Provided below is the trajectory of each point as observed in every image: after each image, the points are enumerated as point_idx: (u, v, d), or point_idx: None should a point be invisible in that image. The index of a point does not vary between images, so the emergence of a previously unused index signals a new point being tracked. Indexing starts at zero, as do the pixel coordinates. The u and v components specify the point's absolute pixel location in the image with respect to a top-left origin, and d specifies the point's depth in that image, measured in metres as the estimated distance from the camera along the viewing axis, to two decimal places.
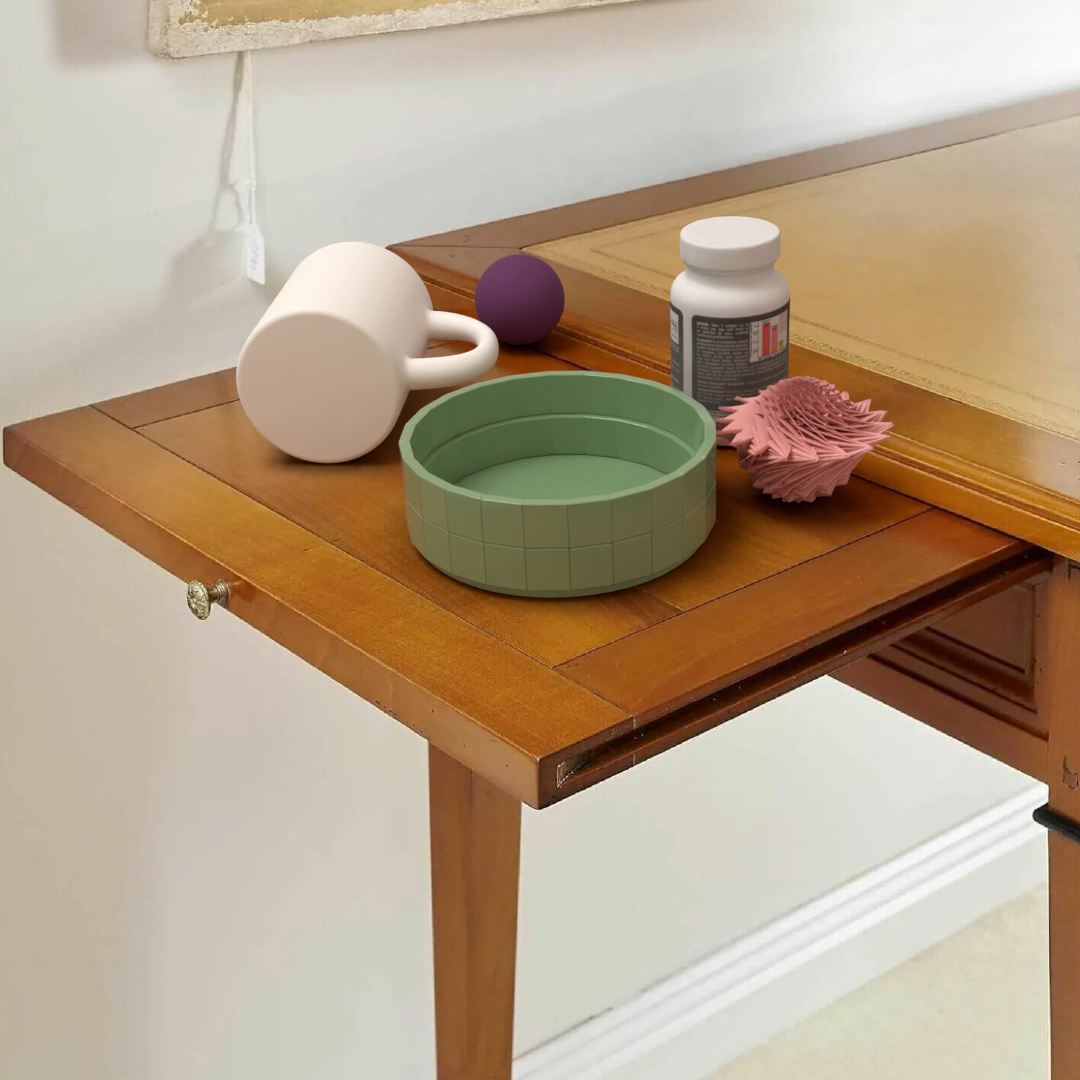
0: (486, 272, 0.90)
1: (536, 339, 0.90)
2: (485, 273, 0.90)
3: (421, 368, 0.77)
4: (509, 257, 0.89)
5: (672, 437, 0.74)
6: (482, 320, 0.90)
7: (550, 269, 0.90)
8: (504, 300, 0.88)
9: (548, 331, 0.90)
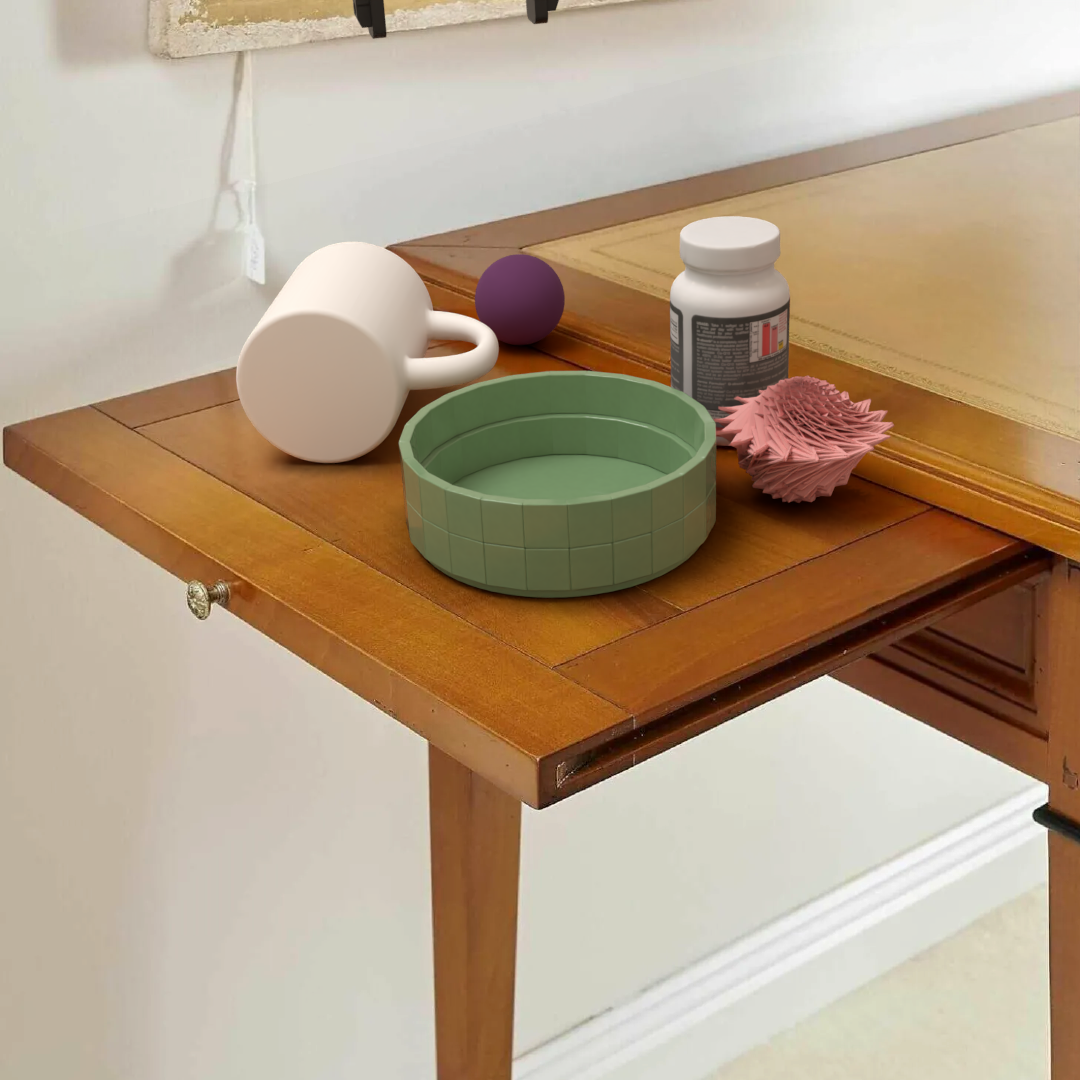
0: (486, 272, 0.90)
1: (536, 339, 0.90)
2: (485, 273, 0.90)
3: (421, 368, 0.77)
4: (509, 257, 0.89)
5: (672, 437, 0.74)
6: (482, 320, 0.90)
7: (550, 269, 0.90)
8: (504, 300, 0.88)
9: (548, 331, 0.90)
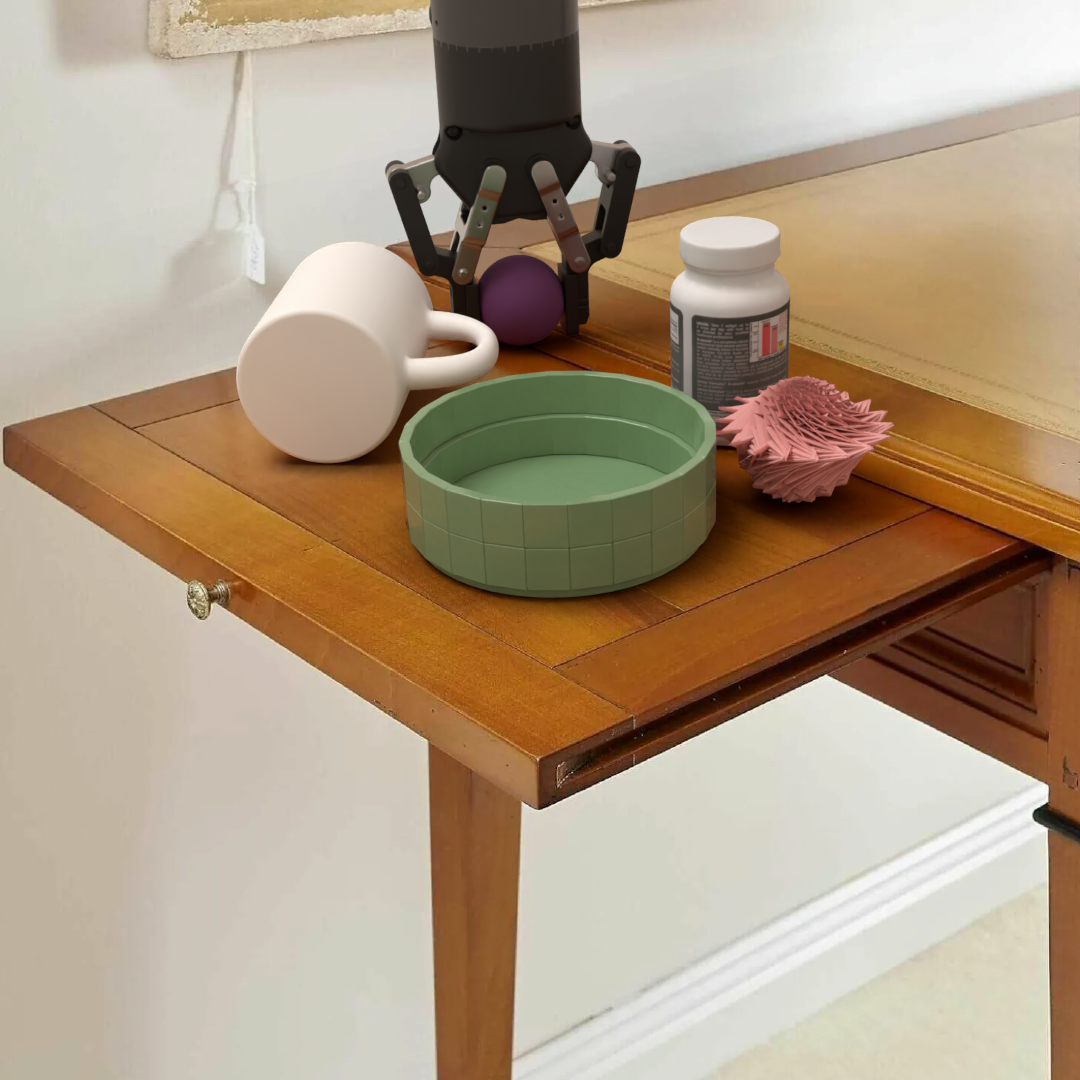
0: (486, 272, 0.90)
1: (536, 339, 0.90)
2: (485, 273, 0.90)
3: (421, 368, 0.77)
4: (509, 257, 0.90)
5: (672, 437, 0.74)
6: (482, 320, 0.90)
7: (550, 269, 0.90)
8: (504, 301, 0.88)
9: (548, 331, 0.90)
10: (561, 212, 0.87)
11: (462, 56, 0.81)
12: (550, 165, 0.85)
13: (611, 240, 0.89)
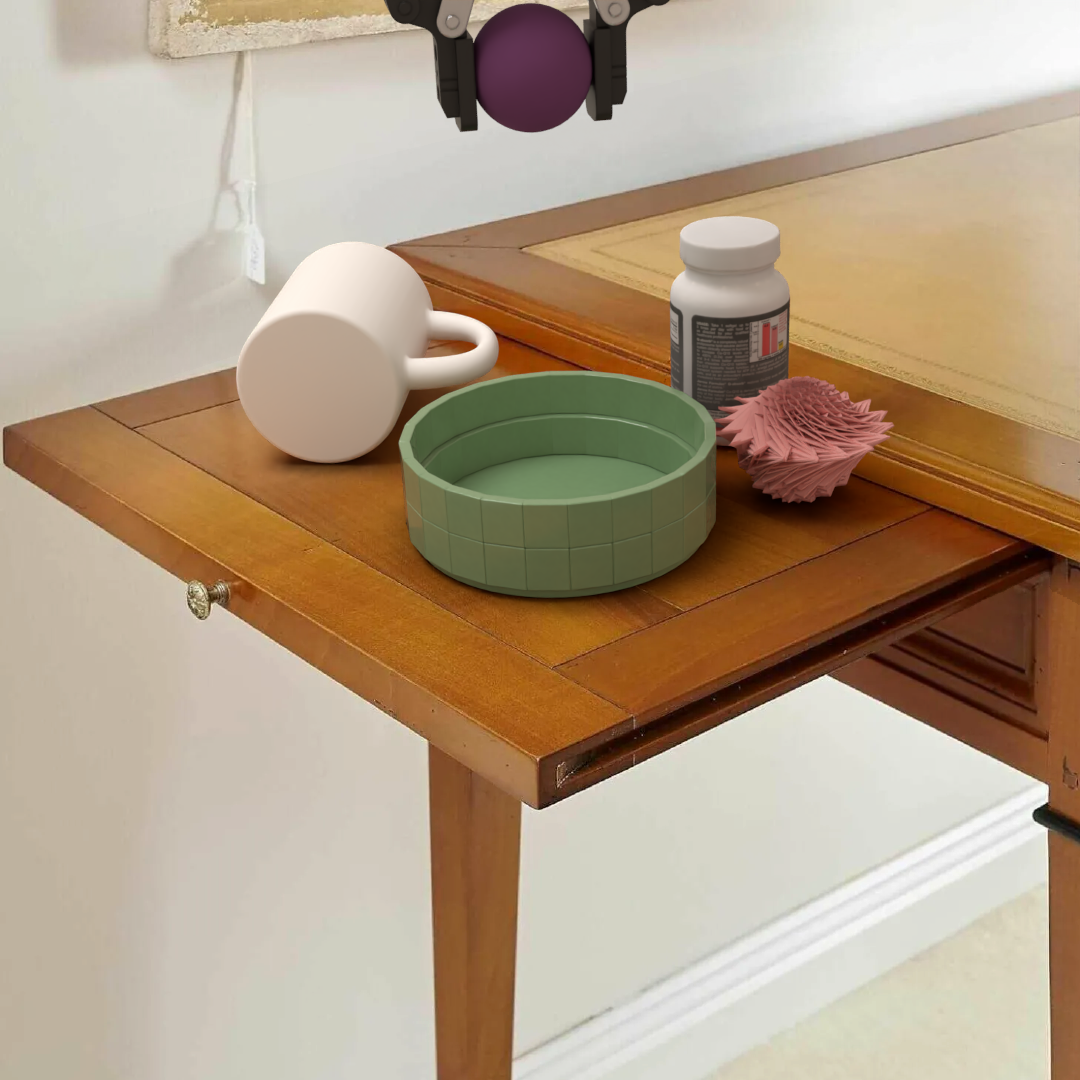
0: (484, 26, 0.65)
1: (553, 121, 0.65)
2: (483, 28, 0.65)
3: (421, 368, 0.77)
4: (516, 5, 0.64)
5: (672, 437, 0.74)
6: (478, 94, 0.65)
7: (573, 22, 0.65)
8: (509, 60, 0.63)
9: (570, 109, 0.65)
10: None
11: None
12: None
13: None
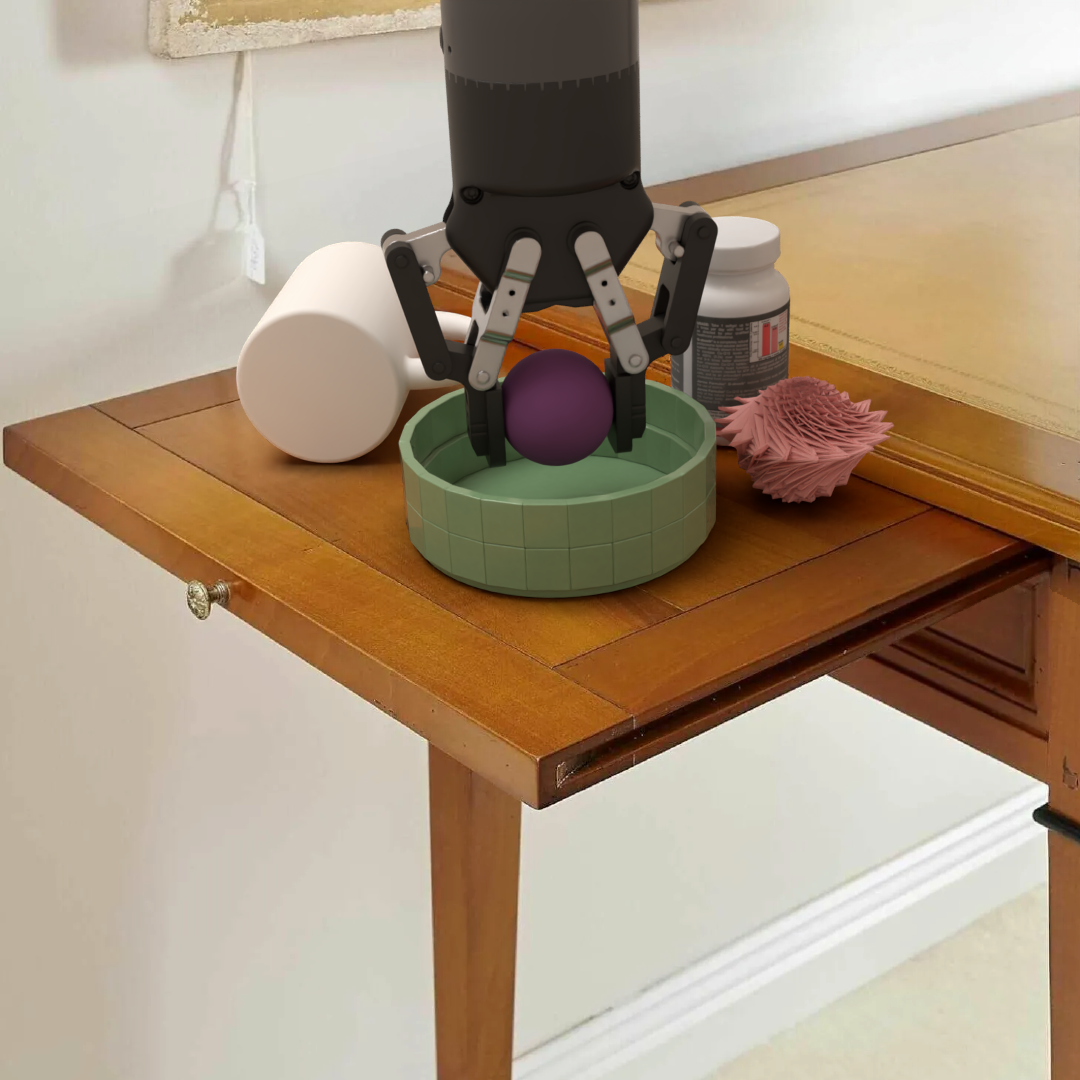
0: (512, 373, 0.69)
1: (577, 459, 0.69)
2: (511, 374, 0.69)
3: (421, 368, 0.77)
4: (542, 354, 0.69)
5: (672, 437, 0.74)
6: (507, 435, 0.69)
7: (596, 369, 0.69)
8: (537, 412, 0.67)
9: (593, 449, 0.69)
10: (612, 297, 0.66)
11: (484, 95, 0.60)
12: (599, 237, 0.64)
13: (677, 332, 0.68)
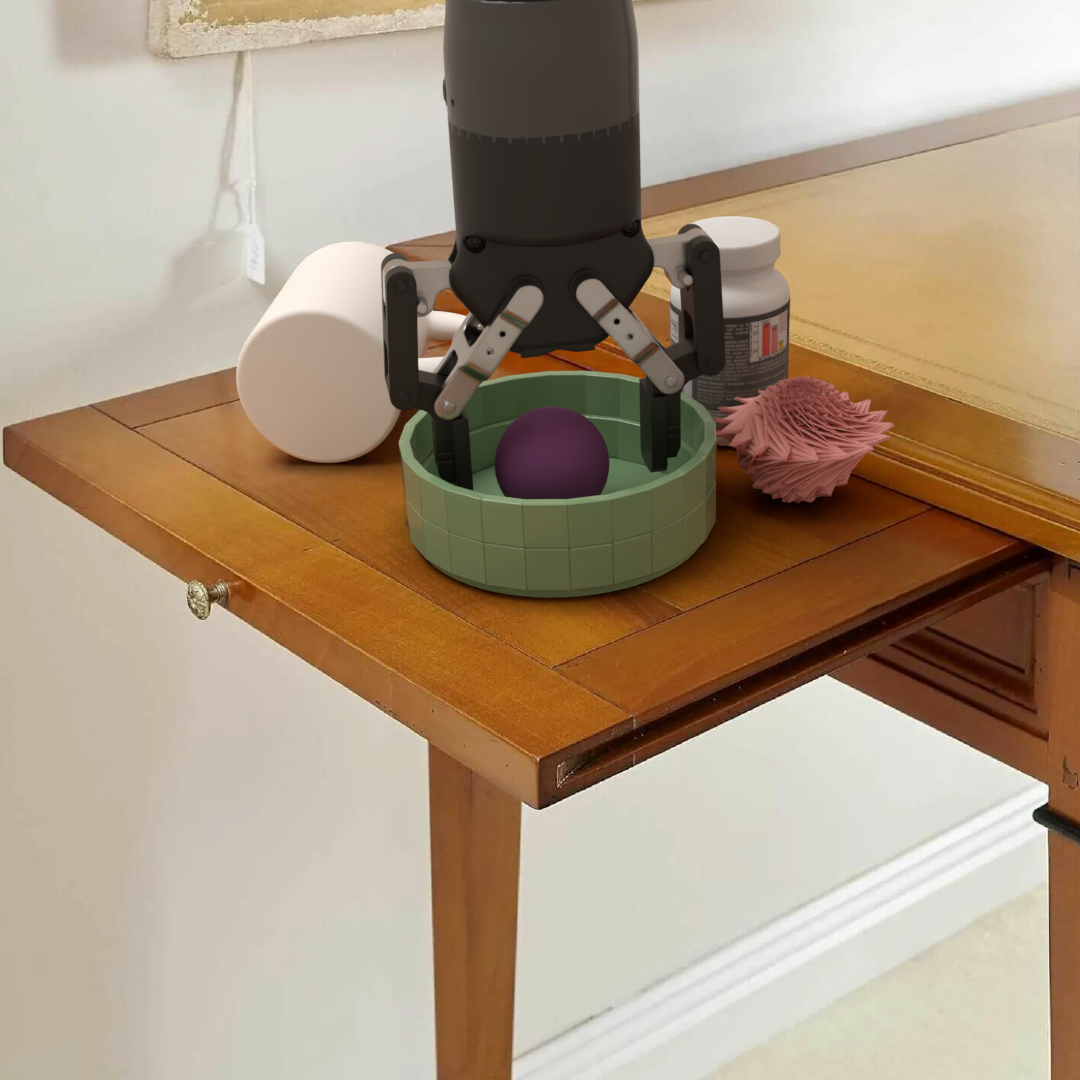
0: (505, 435, 0.70)
1: None
2: (504, 436, 0.70)
3: (421, 368, 0.77)
4: (533, 413, 0.70)
5: None
6: (506, 496, 0.70)
7: (587, 423, 0.70)
8: (531, 472, 0.69)
9: None
10: (629, 332, 0.67)
11: (487, 148, 0.61)
12: (598, 282, 0.65)
13: (710, 353, 0.69)
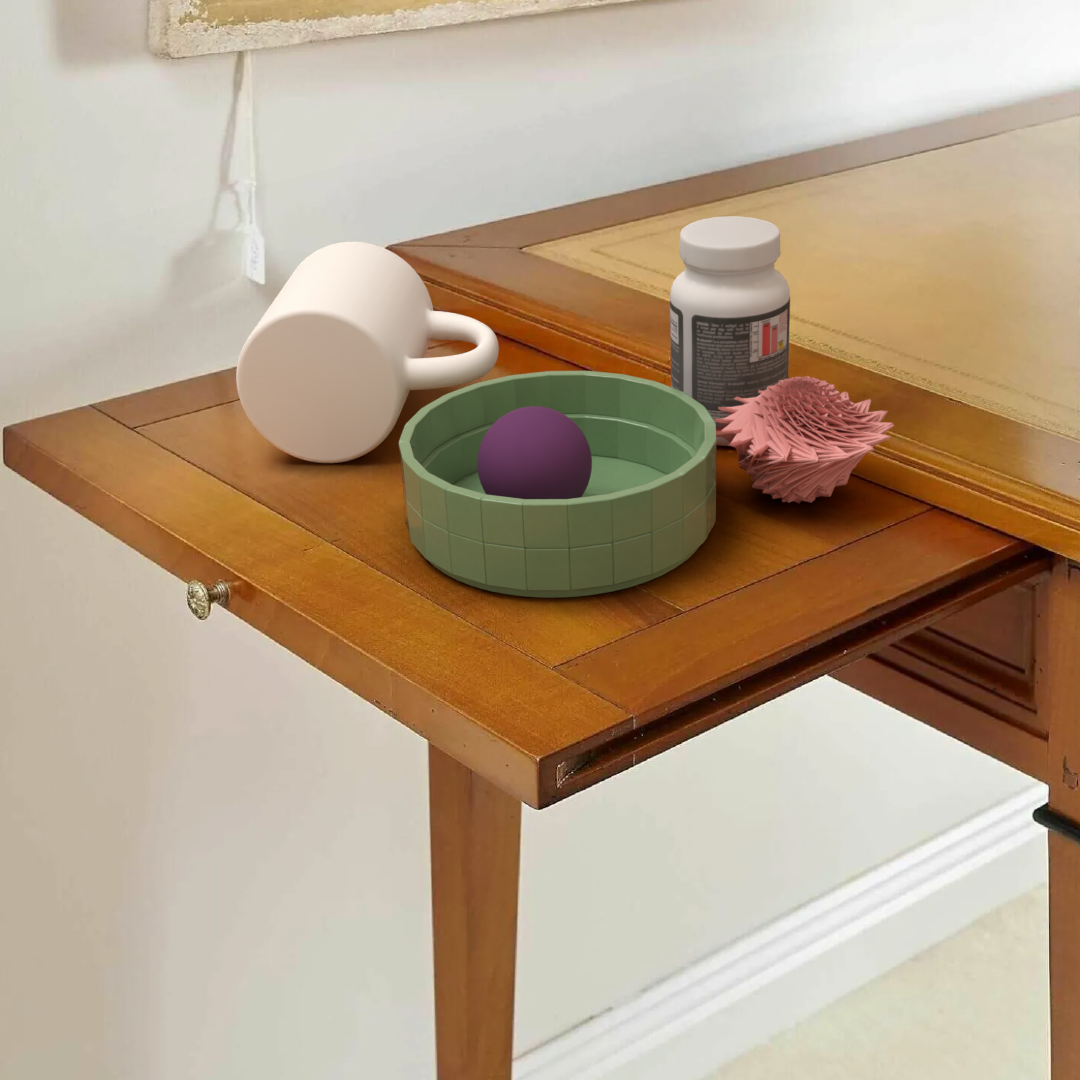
0: (480, 448, 0.70)
1: None
2: (479, 450, 0.71)
3: (421, 368, 0.77)
4: (500, 420, 0.70)
5: (672, 437, 0.74)
6: None
7: (554, 415, 0.70)
8: (509, 476, 0.69)
9: (580, 489, 0.70)
10: None
11: None
12: None
13: None
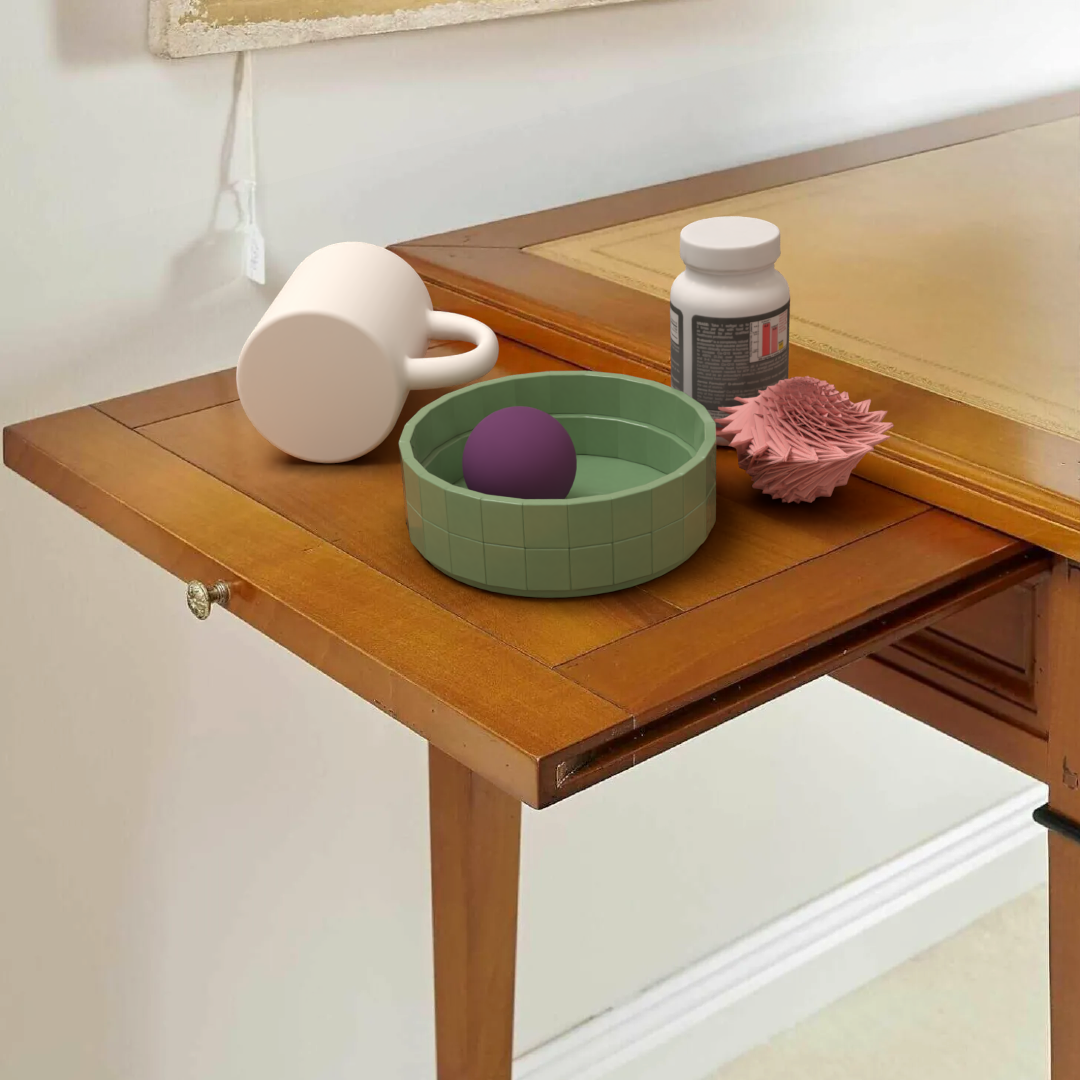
0: (462, 461, 0.71)
1: (560, 494, 0.70)
2: (462, 463, 0.71)
3: (421, 368, 0.77)
4: (474, 429, 0.71)
5: (672, 437, 0.74)
6: None
7: (523, 411, 0.70)
8: (491, 480, 0.69)
9: (566, 476, 0.70)
10: None
11: None
12: None
13: None
